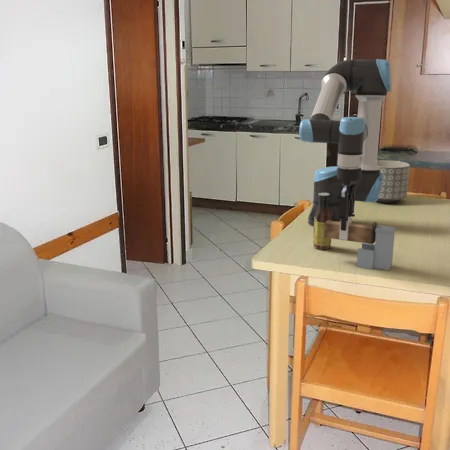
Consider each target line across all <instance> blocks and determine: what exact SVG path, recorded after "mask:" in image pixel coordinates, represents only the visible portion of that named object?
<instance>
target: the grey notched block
mask: <svg viewBox="0 0 450 450" xmlns="http://www.w3.org/2000/svg"><path fill="white" fill-rule="evenodd" d="M396 231H397V227H396V226H392V225H391V226H389V225H382V224H378V225H377V227H376V229H375V233H376V238H375V242H374V244H368V243H361V248H360V247H359V248H358V249H357V257H356V258H357V259H356V267H357V268H362V267H363V268H364V269H369V270H373V269H376V270H382V269H383V271H390V270H389V269H391V268H390V267H392V265H393V256H394V245H395V244H394V243H395V233H396Z"/></svg>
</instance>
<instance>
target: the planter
mask: <svg viewBox="0 0 450 450" xmlns="http://www.w3.org/2000/svg"><path fill="white" fill-rule="evenodd" d="M377 165H378V166H379V167H380V173H383V174H384V177H383V182H382V186H381V191H380V194H379V198H378V200H377V201H376V202H378V203H381V204H382V203H383V204H385V203H386V204H392V203H396V202H398V201H400V200H402V199H406V198H407V196H408V189H409V187H408V186H409V179H410V178H409V177H410V167H411V164H409V163H408V162H404V161H399V160H382V159H381V160H377Z"/></svg>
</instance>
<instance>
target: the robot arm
mask: <svg viewBox="0 0 450 450" xmlns="http://www.w3.org/2000/svg"><path fill="white" fill-rule="evenodd" d="M391 69H392V68H391V63H390V61H389V60H387V59H379V58H374V59H370V58H369V59H368V58H367V59H352V58H351V59H345V60H342V61H340V62H337V63H336V64H334V65H333V66H332V67H330V68H329V69H328V70H327V71H326V73H325V74H324V75H323V77H322V80H321V83H320V88H321V89H320V93H319V95H318V96H317V97H318V98H317V100H316V103H315V104H314V105H315V106H314V109H313V111H312V114H311V116H310V119H309V118H307V119H302V120H301V121H300V124H299V132H298V133H299V140H300V141H302V142H304V143H307V142H308V143H320V144H321V143H322V144H338V150H337V151H338V152H337V163H336V165H337V166H327V167H321V168H318V169H317V170H315V172H314V178H313V201H312V202H313V203H312V207H311V209H310V212H309V214H308V216H307V217H308V218H307V222H308V224H309V225H310V226H313V227H314V215H315V212H316V210H317V207H318V194H319V193H329V194H330V198H329V208H330V210H331V212H332V221H337V222H340V230H339V239H342V240H341V241H346V240H348V228H349V223H353V218H355V216H356V214H355V202H363V203H375V202H378V201H377V200H378V198H379V194H380V191H381V186H382V182H383V177H384V174H383V173H380V167H379V166H378V165H377V161H378V152H379V141H380V129H381V128H380V127H381V119H382V118H381V117H382V116H381V115H382V105H383V101H384V100H385V99H386V97H387V95H388V93H389V92H391V91H392V71H391ZM345 92H354V93H355V95H354V97H355V98H356V99H357V100H358V107H357V116H345V117H341V118H340V120H334V117H335V114H336V112H337V109H338V106H339V102H340V99H341V97H342V95H343V94H344V93H345ZM339 239H338V240H339Z"/></svg>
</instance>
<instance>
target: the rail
mask: <svg viewBox="0 0 450 450" xmlns="http://www.w3.org/2000/svg"><path fill="white" fill-rule="evenodd" d="M377 224H378V222H377V221H374V222H373V223H372V225H368V224H362V223H353V222H352V223H349V228H348V240H345V241H348V242H355V243H360V244H362V243H367V244H375V238H376V233H375V229H376V228H377V227H378V225H377ZM339 230H340V222H337V221H329V220H328V221H327V222H325V230H324V238H331V240H332V239H333V240H340V241H343V240H342V239H339Z"/></svg>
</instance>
